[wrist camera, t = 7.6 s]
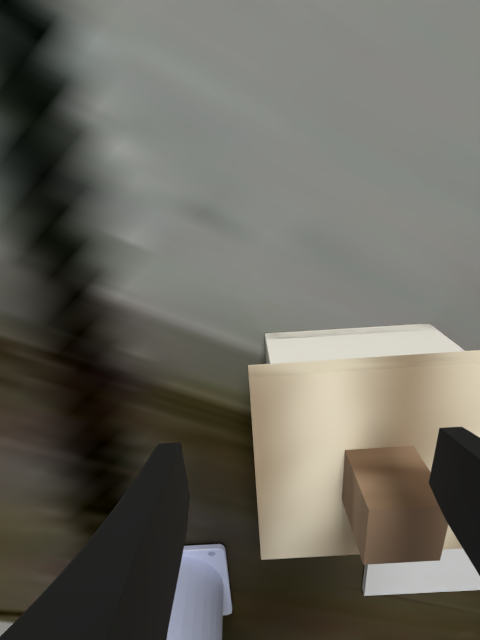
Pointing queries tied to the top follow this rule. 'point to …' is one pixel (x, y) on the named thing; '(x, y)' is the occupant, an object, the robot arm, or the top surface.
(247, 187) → the top surface
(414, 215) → the top surface
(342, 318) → the top surface
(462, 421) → the lid
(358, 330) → the white box
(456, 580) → the mat
